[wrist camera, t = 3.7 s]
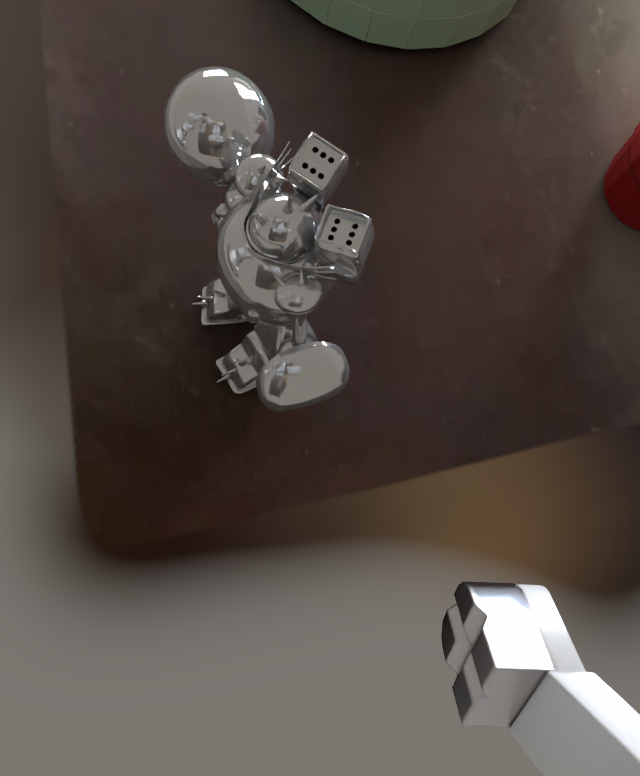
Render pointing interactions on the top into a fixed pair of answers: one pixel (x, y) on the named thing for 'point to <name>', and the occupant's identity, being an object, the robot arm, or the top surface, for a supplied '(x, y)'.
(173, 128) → the robot toy
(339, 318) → the top surface
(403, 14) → the bowl
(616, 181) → the plastic cup
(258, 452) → the top surface
